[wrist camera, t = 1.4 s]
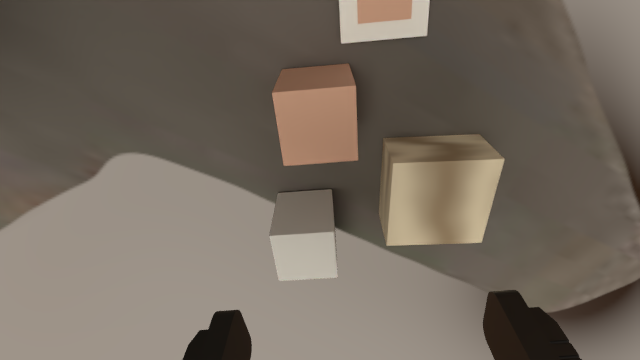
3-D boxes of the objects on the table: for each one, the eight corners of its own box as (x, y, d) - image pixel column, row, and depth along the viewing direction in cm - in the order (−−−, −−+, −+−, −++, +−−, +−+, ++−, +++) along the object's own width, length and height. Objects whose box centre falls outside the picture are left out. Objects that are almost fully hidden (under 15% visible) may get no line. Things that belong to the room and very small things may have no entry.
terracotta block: (290, 131, 27) (283, 166, 22) (282, 69, 25) (271, 92, 20) (351, 126, 27) (358, 160, 22) (348, 63, 25) (355, 85, 20)
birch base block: (378, 213, 32) (386, 245, 28) (383, 137, 28) (393, 163, 24) (462, 210, 32) (481, 242, 28) (479, 133, 28) (504, 159, 24)
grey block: (285, 234, 33) (278, 280, 28) (277, 192, 31) (269, 235, 26) (335, 231, 33) (337, 277, 28) (331, 189, 30) (334, 231, 25)
